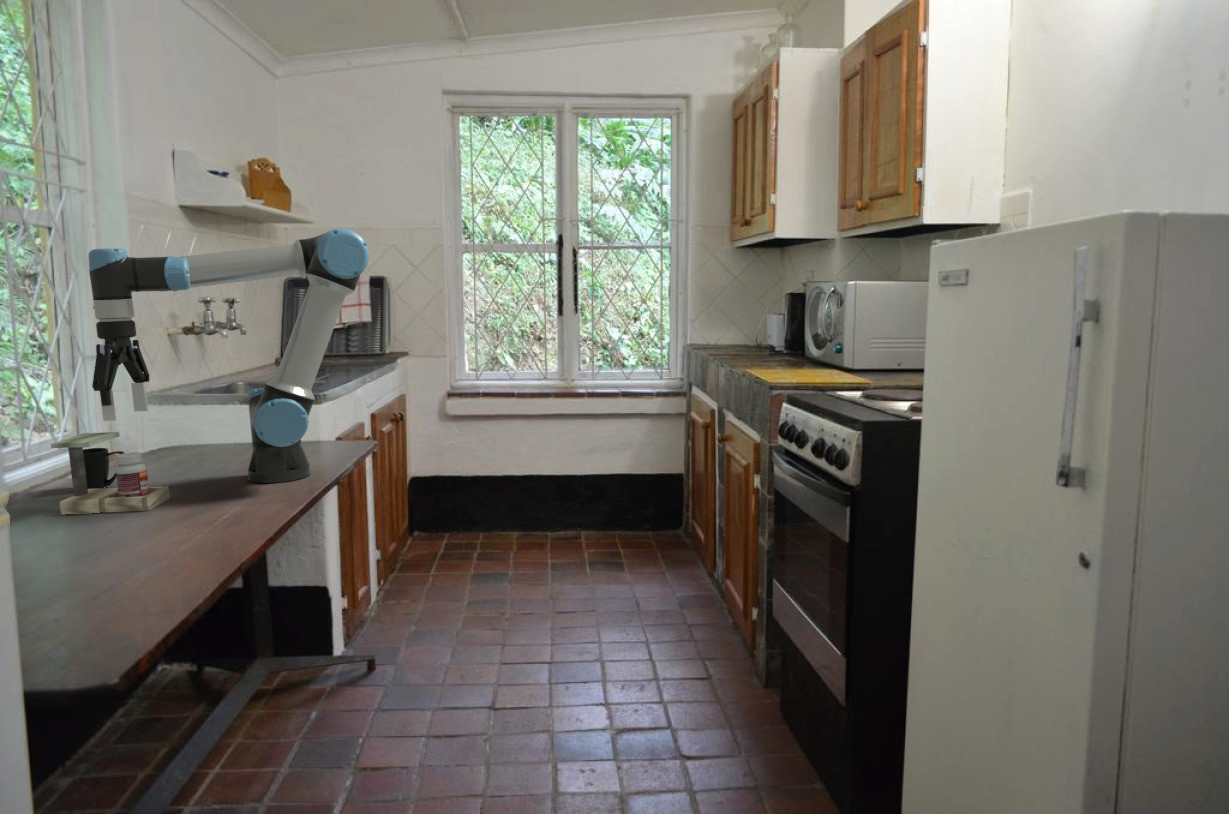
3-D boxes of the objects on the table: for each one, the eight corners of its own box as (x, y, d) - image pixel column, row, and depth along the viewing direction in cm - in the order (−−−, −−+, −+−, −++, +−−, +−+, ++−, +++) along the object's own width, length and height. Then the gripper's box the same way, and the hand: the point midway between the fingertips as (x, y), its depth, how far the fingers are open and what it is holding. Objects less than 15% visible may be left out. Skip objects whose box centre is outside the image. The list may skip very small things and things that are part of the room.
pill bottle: (149, 504, 198) (142, 455, 196) (118, 508, 196) (111, 458, 194) (152, 498, 204) (146, 450, 202) (122, 502, 201) (116, 453, 200)
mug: (121, 490, 216) (116, 452, 215) (68, 493, 214) (63, 455, 213) (133, 482, 224) (129, 445, 223) (82, 485, 222) (77, 448, 221)
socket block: (172, 497, 207) (165, 430, 204) (145, 512, 194) (137, 440, 191) (91, 500, 206) (83, 433, 203) (59, 515, 193) (50, 443, 191)
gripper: (126, 317, 206) (136, 407, 209) (65, 323, 181) (78, 425, 185) (159, 316, 206) (168, 406, 209) (102, 322, 182) (114, 424, 185)
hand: (126, 415), depth 197 cm, fingers open, 13 cm apart
